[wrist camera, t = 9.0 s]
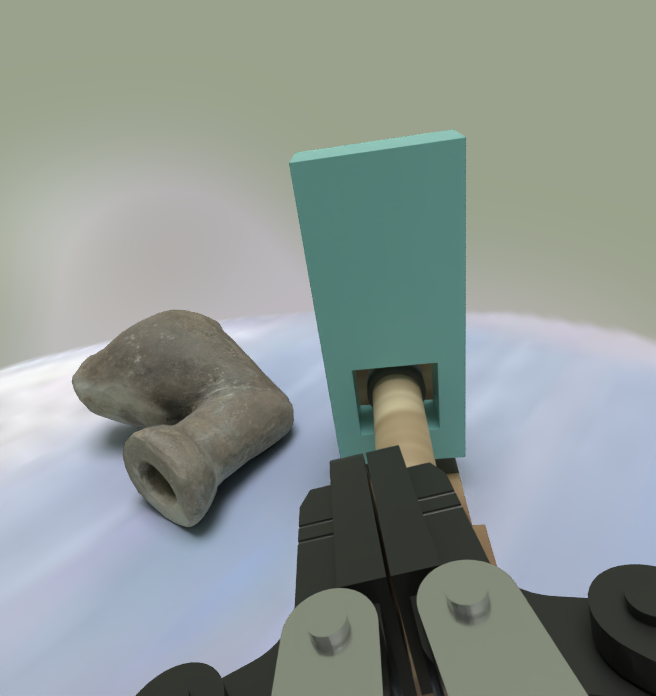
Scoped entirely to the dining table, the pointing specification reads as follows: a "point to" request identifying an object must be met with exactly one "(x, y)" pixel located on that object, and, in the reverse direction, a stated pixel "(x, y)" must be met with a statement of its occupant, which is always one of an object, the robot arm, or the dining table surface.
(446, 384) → the teal flat board
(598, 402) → the dining table surface
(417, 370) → the wooden dowel plank
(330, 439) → the dining table surface
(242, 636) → the dining table surface
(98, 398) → the pipe
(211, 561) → the dining table surface
